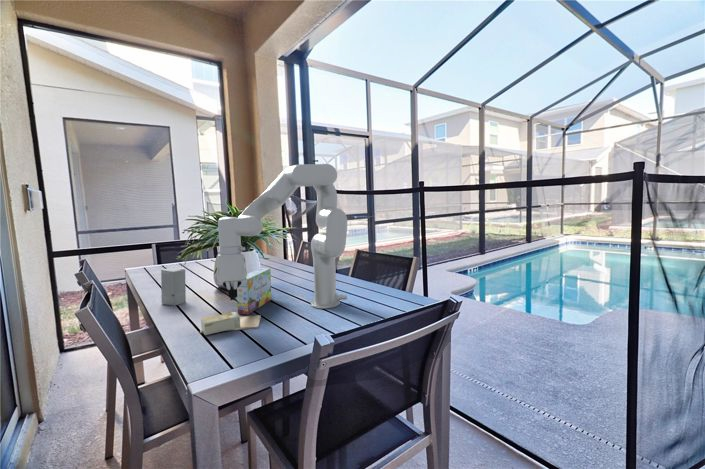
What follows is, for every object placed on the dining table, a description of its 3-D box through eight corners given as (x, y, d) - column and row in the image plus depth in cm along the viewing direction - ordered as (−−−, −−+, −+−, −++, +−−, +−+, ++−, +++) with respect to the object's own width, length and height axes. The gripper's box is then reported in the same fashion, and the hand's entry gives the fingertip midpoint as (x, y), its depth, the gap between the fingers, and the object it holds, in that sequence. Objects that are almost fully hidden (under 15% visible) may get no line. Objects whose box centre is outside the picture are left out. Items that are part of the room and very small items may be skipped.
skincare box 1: (161, 304, 155) (158, 270, 153) (174, 299, 161) (172, 266, 160) (175, 306, 152) (172, 271, 150) (188, 301, 158) (185, 268, 156)
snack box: (249, 315, 139) (248, 278, 137) (237, 314, 140) (235, 278, 138) (272, 299, 160) (270, 267, 158) (261, 298, 161) (259, 267, 159)
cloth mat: (260, 316, 137) (260, 315, 137) (258, 327, 125) (258, 326, 125) (207, 320, 133) (207, 319, 133) (200, 333, 121) (199, 331, 121)
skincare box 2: (240, 315, 124) (204, 323, 117) (241, 327, 124) (205, 335, 117) (235, 311, 129) (200, 318, 122) (235, 322, 129) (201, 329, 122)
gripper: (252, 248, 131) (254, 294, 133) (211, 250, 128) (214, 297, 130) (250, 251, 124) (253, 300, 126) (206, 253, 121) (209, 303, 123)
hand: (233, 299), depth 128 cm, fingers closed
